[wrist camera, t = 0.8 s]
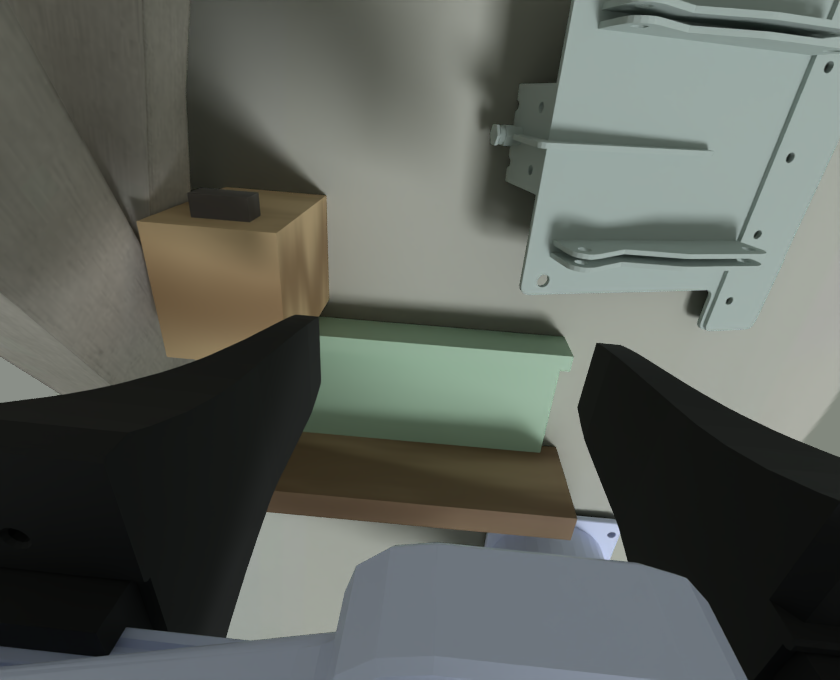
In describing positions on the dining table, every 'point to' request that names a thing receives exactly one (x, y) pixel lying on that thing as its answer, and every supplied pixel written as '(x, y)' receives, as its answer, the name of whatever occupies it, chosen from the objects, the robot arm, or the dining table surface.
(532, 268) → the metal bracket
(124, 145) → the white letter a
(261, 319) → the cabinet block
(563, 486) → the wall board
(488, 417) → the cleat ledge
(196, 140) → the dining table surface
